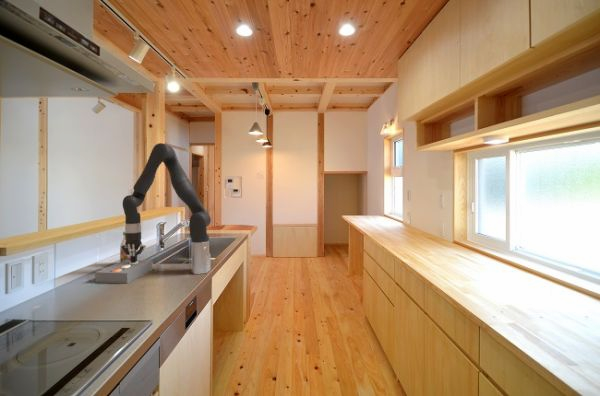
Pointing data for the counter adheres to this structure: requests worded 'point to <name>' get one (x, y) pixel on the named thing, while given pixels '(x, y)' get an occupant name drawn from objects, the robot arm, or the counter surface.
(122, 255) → the milk bottle
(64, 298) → the counter surface
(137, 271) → the button console
